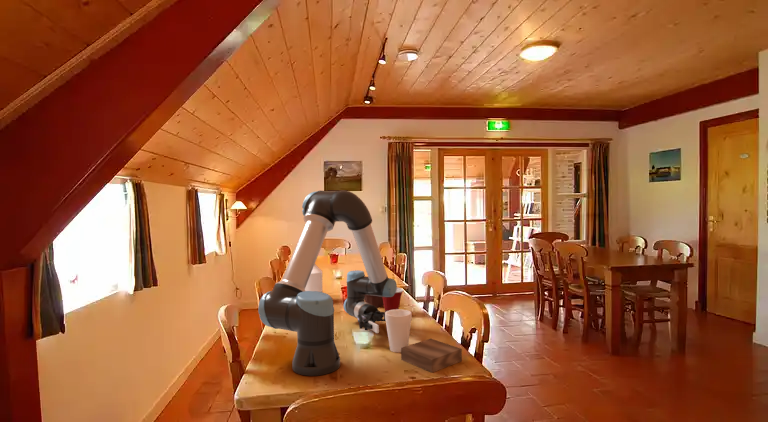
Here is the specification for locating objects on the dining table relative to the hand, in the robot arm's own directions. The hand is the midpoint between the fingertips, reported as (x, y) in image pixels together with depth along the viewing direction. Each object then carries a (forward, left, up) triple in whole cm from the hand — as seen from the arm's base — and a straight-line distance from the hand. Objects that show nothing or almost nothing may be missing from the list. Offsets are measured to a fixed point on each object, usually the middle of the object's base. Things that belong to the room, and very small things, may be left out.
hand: (394, 326), depth 156 cm
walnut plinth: (-1, -19, -7) cm, 20 cm away
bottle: (+10, +77, -7) cm, 78 cm away
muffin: (+30, +50, -7) cm, 59 cm away
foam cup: (-2, -4, -7) cm, 8 cm away
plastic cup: (+26, +32, -7) cm, 42 cm away
